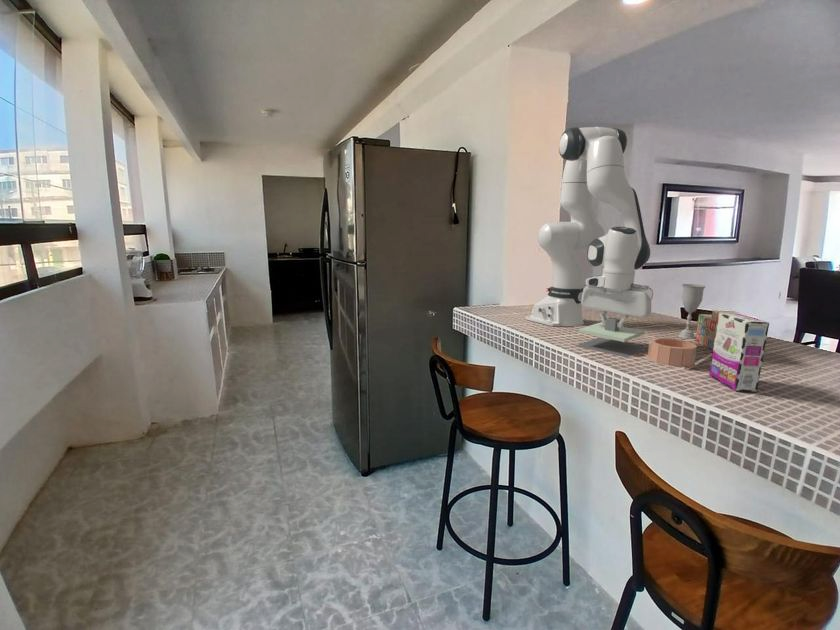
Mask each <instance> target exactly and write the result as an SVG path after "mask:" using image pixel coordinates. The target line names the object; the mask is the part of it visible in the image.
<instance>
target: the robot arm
mask: <svg viewBox="0 0 840 630" xmlns="http://www.w3.org/2000/svg"><path fill="white" fill-rule="evenodd" d="M627 145H628V137H627V135H626V132H625V131H624V130H622V129H620V128H617V127H605V126H586V127H578V126H575V127H570V128H567V129H565V130H564V131H563V133H562V134H561V137H560V139H559V143H558V152H559V153H558V154H559V155H560V157H561V158H562V159H564V160H566V161H565V165H564V169H563V172H562V178H561V179H562V180H561V187H560V195H559V196H560V197H559V205H560V207H561V208H562V209H563V210H565V211H566V212H568V214H569V216H570V221H554V222H553V221H552V222H548V223H545V224H543V225H542V226H541V227H540V228H539V231H538V233H537V242H538V244H539V246H540V247H541V249H543V250H544V251H545V252H546V253H547V254H548V256H549V257H550V262H551V264H552V286H549V287H547V288H546V290H545V291H546V292H548V293H547V295H546V296H545V297H542V299H539V301H537V302H536V303H534V305H533V307H532V310H531V314H528V315H526V316H525V320H527V321H531V322H534V323H538V324H543V325H546V326H549V327H550V326H551V327H579V326H583V325H584V324H585V322H584V317H583V308H585V309H590V310H596V311H599V313H598V314H599V317H600V318H601V320H602V321H601V322H602V325H605V323H606V319H607V318H608V317H607V316H606V315H607V313H614V314H619V315H620V321H619V322H616V328H623V327H624V325H625V324H624V323H626V321H627V320H628V318H629V316H631V317H638V318H647V317H649V316H650V315H651V314H652V300H653V297H654V290H653V289H652V288H651V287H649V285H645V284H644V285H643V284H642V285H641V284H639V283H638V284H636V283H635V276H636V270H639V269H641V268H643V266H644V265H646V263H647V262H648V261H649V260H650V258H651V248H650V245H649V242H648V239H647V237H646V233H645V228H644V223H643V218H642V216H643V215H642V211H641V206H640V203H639V198H638V194H637V192H636V190H635V189H634V188H633V187H631V185H630V184H629V182H628V180H627V177H626V175H625V174H626V173H625V159H624V154H625V151H626V148H627ZM593 198H595V199H596V200H598V201H600V202H603V203H605V204H608V205H610V206H612V207H613V208H615V209H617V210H618V211H619V212H620V214H621V216H622V220H623V226H614V227H611V228H610V229H608V232H607V233H606V232H605V230H604V228H603V226H602V225H601V224H600V223H599V222H598V221H597V219H596V217H595V215H594V211H593ZM573 252H586V257H587V261H588V262H589V264H590V265H592V267H596V268H600V269H601V268H602V274H600V275H596V276H593V277H589V278H586V279H585V285H586V286H585V287H584V286H583V285H584V274H585V272H584V271H585V270H584V267H583V265H582V264H580V262H578V261H576V260H575V259H574V257H573Z"/></svg>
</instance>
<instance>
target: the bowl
mask: <svg viewBox="0 0 840 630" xmlns="http://www.w3.org/2000/svg"><path fill="white" fill-rule="evenodd" d="M648 343H649V344H648V347H649V348H648V349H647V351H648V352H647V358H648V360H650V362H651V361H652V362H654V363H656V364H660V365H664V366H670V367H681V368H685V369H691V367H692V368H693V367H695V363H696V355H697V348H698V346H697V345H696V344H695V343H694V342H690V341H687V340H682V339H677V338H667V337H655V338H651V339H649V342H648Z"/></svg>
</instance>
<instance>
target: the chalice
mask: <svg viewBox="0 0 840 630" xmlns="http://www.w3.org/2000/svg"><path fill="white" fill-rule="evenodd" d="M681 285H682V296H681V301H682V304H683V306H684V307H683V308H684V310H685V312H687V313H688V315H687V317H686V322H685V324H686V328H685V329H681V331H680V333H679V334H678V337H679V338H681V337H682V339H687V338H689V339H688V340H693V338H695V339H696V335H695V332H694V330H692V329H691V325H692V322H691V320H692V319H693V316H692V314H693V313H695V312H697V309H698V308H699V307H700V305H701V303H702V301H703V296H704V290H705V288H706V287H707V286H706V285H704V284H695V283H683V284H681Z"/></svg>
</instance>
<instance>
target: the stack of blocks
mask: <svg viewBox="0 0 840 630" xmlns="http://www.w3.org/2000/svg"><path fill="white" fill-rule="evenodd" d="M719 313H731V314H740V315H744V316H747V317H751V316H749V315H747V314H743V313H741V312H738V311H735V310H715V309H714V310H712V313H711V314H703V313H701V314H698V318H697V327H696V335H695V342H697V343H699V344H700V345H701V346H703V345H704V347H705V348H706V347H707V348H706V349H710V350H713V348H714V342H715V335H716V329H717V323H718V317H719Z"/></svg>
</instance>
